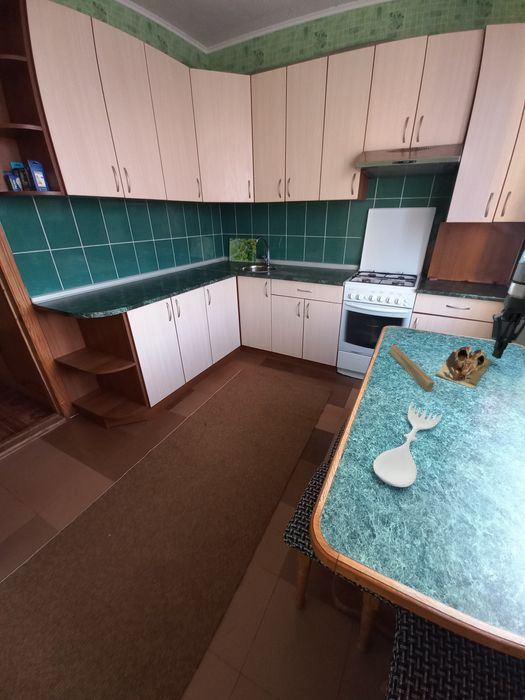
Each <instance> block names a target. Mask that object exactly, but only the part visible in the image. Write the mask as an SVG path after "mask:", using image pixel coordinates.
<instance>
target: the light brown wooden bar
mask: <svg viewBox="0 0 525 700" xmlns="http://www.w3.org/2000/svg"><path fill="white" fill-rule="evenodd" d="M389 354H390V356H392V357H393V358H394V359H395V361H396V362H397V363H398V364H399V365H400V366H401V367H402V368H403V369H404V370H405V371H406V372H407V373H408V375H410V376H411V377H412V379H414V381H415V382H416V383H417V384H419V386H420V387H421V388H422V389H423V390H424V391H425V392H432V391H433V389H434V385H435V381H434V380H432V378H430V377H429V375H428V374H427V373H425V372H424V371H423V370H422V368H420V367H419V365H417V364H416V363H415V362H414V361H413V360H412V359H411V358H410V357H409V356H407V354H405V352H404V351H403V350H402V349H400V348H399V347H398V346H397V344H391V345H390V347H389Z"/></svg>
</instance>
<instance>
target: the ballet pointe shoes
mask: <svg viewBox="0 0 525 700" xmlns="http://www.w3.org/2000/svg"><path fill="white" fill-rule="evenodd" d="M492 361H493V359H492V358H487V356H486V353H485V351H484V350H483V349H481V348H480V349H476V350H474V351H473V350H472V348H471V347H470V346H461V347H459V348H458V349H453V351H452V352H451V353H450V354H449V356H448V357H447V359H446V360H445V362H443V364H442V365H441V367H440V368H439V369H438V371H437V372H436V373H435V376H436V377H438V378H442V379H445V380H448V381H451V382H453V383H457V384H460V385H462V386H465V387H468V388H470V389H475V388H476V387H477V385H478V384H479V382H480V380H481V378H482V377H483V376H484V374H485V373H486V371H487V369H488V368H489V366H490V364H491V362H492Z"/></svg>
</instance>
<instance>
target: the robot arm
mask: <svg viewBox="0 0 525 700" xmlns="http://www.w3.org/2000/svg"><path fill="white" fill-rule="evenodd" d="M507 293H508V294H506V296H505V298H504V300H503V308H502V309H501V310H500V313H498V314H492V316H491V318H492V321H493V322H492V329H491V336H490V337H491V339H492V340H494V341H495V342H494V344H493V350H492V353H491V356H492V357H493V358H495V360H496V359H497V360H499V359H500V360H501V359H502V357H503V354H504V352H505V350H506V349H507V348H508V345H509V344H512V343H513V341H516V340H517V339H518V337H519V336H520V335H521V333H522V332H523V330H524V329H525V250H524V251H523V252H522V255H521V257H520V259H519V260H518V264H517V267H516V270H515V272H514V275H513V276H512V279H511V283H510V286H509V288H508V290H507Z"/></svg>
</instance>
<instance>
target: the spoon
mask: <svg viewBox="0 0 525 700" xmlns="http://www.w3.org/2000/svg"><path fill="white" fill-rule="evenodd" d="M416 410H417V405H415V406H414V407H413V402H410V404H409V406H408V410H407V420H408V421H409V423H410V425H411V426H412V429H411V430H410V432H409V433H405V434H403V437H404V438H405V439H406V441H405V442H404V443H403V444H402V445H400V446H397V447H395V448H391V449H388V450H385V451H383V452H381V453H379V454H378V456H376V458H375V459H374V461H373V463H372V464H373V465H372V467H373V471H374V473H375V474H376V476H377V477H378V478H379V479H380V480H381V481H382V482H384V483H385V484H387V485H389V486H392V487H395V488H406V487H410V486H411V485H413V484H414V483H415V482H416V478H417V474H418V470H417V465H416V462H415V460H414V457H413V456H412V453H411V450H410V445H411V442H413V443H415V442H417V441H418V438H417V437H416V434H417V433H418V431H423V430H424V431H425V430H430V429H432V428H434V427H435V426H436V425H437V424H438V423H439V422H440V421H441V420H442V417H443V413H441V414H440V415H439V416H438V417H437V415H438V413H437V412H436V413H435V414H434V415H433V412H430V414H429V415H428V417H427V411H426V410H424V411H423V412H422V413H421V415H420V411H421V407H419V408H418V410H417V411H416ZM432 416H433V417H432ZM426 417H427V418H426Z"/></svg>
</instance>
